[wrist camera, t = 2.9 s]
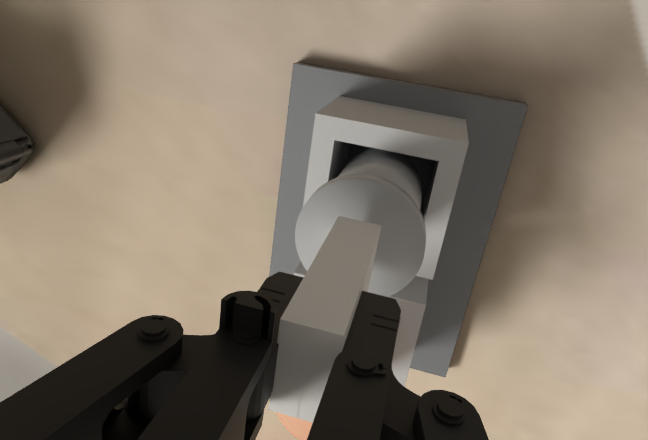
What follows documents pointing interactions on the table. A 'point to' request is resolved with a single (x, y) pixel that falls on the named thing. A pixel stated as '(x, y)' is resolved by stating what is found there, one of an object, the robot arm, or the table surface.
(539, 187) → the table surface
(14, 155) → the camera
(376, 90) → the panel
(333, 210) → the plug grey
